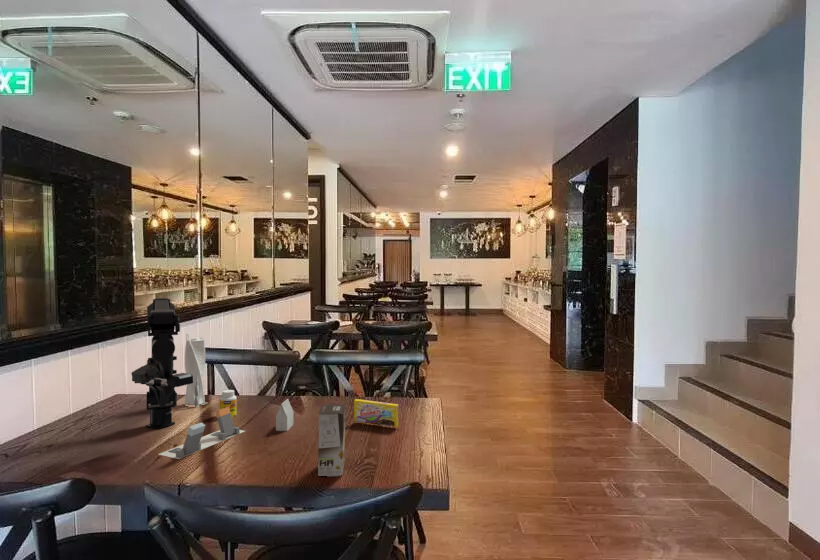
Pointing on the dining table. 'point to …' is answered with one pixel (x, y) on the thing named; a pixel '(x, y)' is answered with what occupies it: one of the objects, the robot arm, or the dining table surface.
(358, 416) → the candy box
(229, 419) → the lever
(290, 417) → the grey house block
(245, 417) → the dining table surface
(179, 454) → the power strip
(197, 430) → the lever
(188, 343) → the skyscraper
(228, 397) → the supplement bottle
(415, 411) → the dining table surface
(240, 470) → the dining table surface
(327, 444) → the coffee box
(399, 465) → the dining table surface
